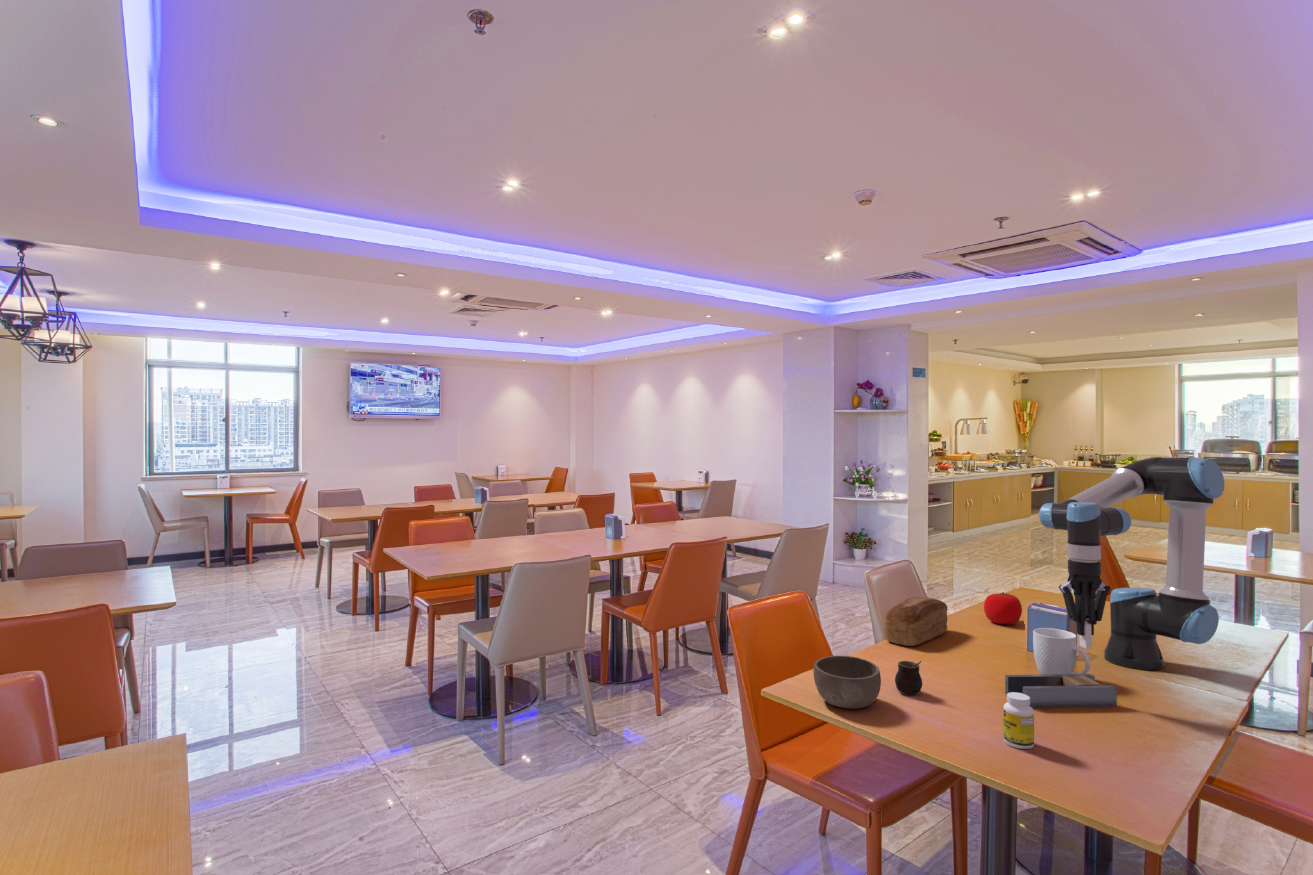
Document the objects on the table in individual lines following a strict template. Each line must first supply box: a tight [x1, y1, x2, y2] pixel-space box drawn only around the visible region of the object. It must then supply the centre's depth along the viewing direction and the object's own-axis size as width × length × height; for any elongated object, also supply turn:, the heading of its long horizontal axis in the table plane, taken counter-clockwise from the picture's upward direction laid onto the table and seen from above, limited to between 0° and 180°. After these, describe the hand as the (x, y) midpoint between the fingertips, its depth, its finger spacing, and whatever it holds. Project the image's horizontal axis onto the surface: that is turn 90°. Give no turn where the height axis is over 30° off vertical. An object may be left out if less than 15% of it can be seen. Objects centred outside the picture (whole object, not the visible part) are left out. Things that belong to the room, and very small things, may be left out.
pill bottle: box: [1003, 692, 1035, 750], centre depth 151 cm, size 6×6×11 cm
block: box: [1063, 676, 1101, 686], centre depth 177 cm, size 6×6×4 cm
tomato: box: [983, 592, 1023, 626], centre depth 251 cm, size 13×14×12 cm
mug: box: [1032, 627, 1091, 675], centre depth 192 cm, size 15×11×13 cm
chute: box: [1004, 673, 1118, 709], centre depth 177 cm, size 24×10×5 cm, turn 91°
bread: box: [884, 596, 949, 647], centre depth 234 cm, size 12×31×14 cm, turn 133°
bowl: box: [812, 655, 882, 710], centre depth 176 cm, size 17×18×10 cm
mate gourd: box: [894, 660, 923, 696], centre depth 182 cm, size 7×8×10 cm
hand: (1085, 647), depth 177 cm, fingers closed
